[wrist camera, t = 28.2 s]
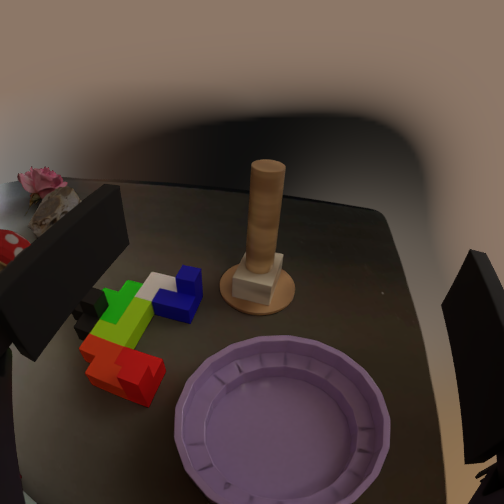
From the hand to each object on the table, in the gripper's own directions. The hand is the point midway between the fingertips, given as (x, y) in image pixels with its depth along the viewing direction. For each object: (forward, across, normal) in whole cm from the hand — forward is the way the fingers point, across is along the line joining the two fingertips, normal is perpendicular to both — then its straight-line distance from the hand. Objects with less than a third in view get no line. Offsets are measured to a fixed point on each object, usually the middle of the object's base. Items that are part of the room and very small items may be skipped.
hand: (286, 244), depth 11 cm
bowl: (+1, +2, -20) cm, 20 cm away
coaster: (+19, -4, -20) cm, 28 cm away
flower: (+29, -48, -20) cm, 59 cm away
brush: (+19, -4, -20) cm, 28 cm away
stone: (+21, -37, -20) cm, 47 cm away
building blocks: (+8, -16, -20) cm, 27 cm away
